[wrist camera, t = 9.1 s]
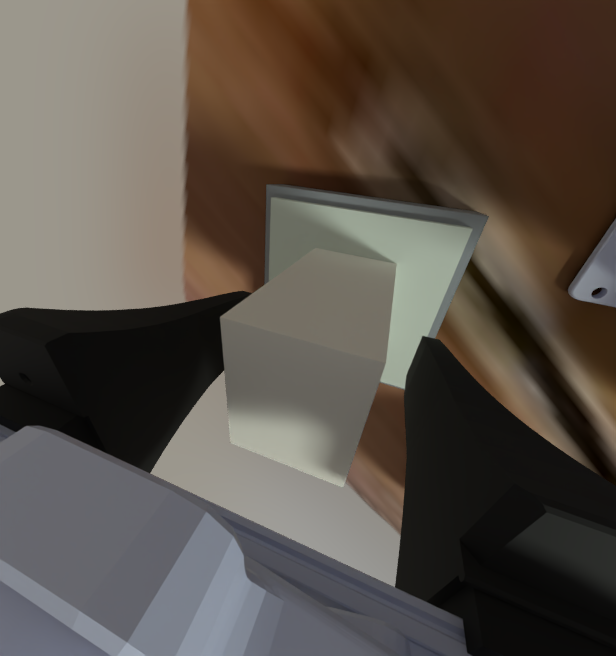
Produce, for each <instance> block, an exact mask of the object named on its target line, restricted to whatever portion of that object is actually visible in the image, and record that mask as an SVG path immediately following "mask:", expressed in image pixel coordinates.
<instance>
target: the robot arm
mask: <svg viewBox="0 0 616 656" xmlns="http://www.w3.org/2000/svg"><path fill="white" fill-rule="evenodd" d="M597 288H602V290H601V292H599V293H598V294H596V295H591V294H592V292H593V291H594V290H595V289H597ZM568 293H569V295H570V296H571V297H573V298H574V299H577V300H581V301H586V302H591V303H596V304H601V305H606V306H611V307H616V219H615V220H614V222H613V223H612V225H611V226H610V227H609V229H608V230H607V232H606V233H605V235H604V236H603V238H602V239H601V241H600V242H599V244H598V245H597V246H596V248H595V249H594V251H593V252H592V254H591V255H590V257H589V258H588V260H587V261H586V262H585V264H584V265H583V267H582V268H581V270H580V271H579V273H578V274H577V276H576V277H575V279H574V280H573V281H572V283H571V284H570V286H569V288H568ZM251 294H252V293H249V292H245V291H238V292H232V293H227V294H222V295H218V296H213V297H209V298H204V299H200V300H195V301H190V302H185V303H179V304H174V305H168V306H161V307H153V308H143V309H127V310H109V311H108V310H106V311H105V310H104V311H83V310H79V311H77V310H55V309H38V308H37V309H36V308H18V309H13V310H10V311H7V312H4V313H1V314H0V378H1V379H2V381H3V382H4V383H5V384H4V385H2V386H0V656H616V486H615V485H613V484H612V483H610V482H608V481H607V480H605V479H604V478H602V477H601V476H599V475H598V474H596V473H594V472H593V471H591V470H590V469H588V468H587V467H585V466H584V465H582V464H581V463H579V462H577V461H576V460H574V459H573V458H571V457H570V456H569V455H567V454H566V453H564V452H563V451H561V450H560V449H558V448H557V447H555V446H554V445H553V444H551V443H550V442H549V441H547V440H546V439H544V438H543V437H542V436H540V435H539V434H538V433H536V432H535V431H534V430H532V429H531V428H530V427H528V426H527V425H526V424H525V423H523V422H522V421H521V420H519V419H518V418H517V417H516V416H515V415H513V414H512V413H511V412H510V411H509V410H507V409H506V408H505V407H504V406H503V405H502V404H500V403H499V402H498V401H497V400H496V399H495V398H494V397H493V396H492V395H490V394H489V393H488V392H487V391H486V390H485V389H484V388H483V387H482V386H481V385H480V384H479V383H478V382H477V381H476V380H475V379H474V378H473V377H472V375H471V374H470V373H469V372H468V371H467V370H466V369H465V368H464V367H463V366H462V365H461V363H460V362H459V361H458V360H457V359H456V358H455V357H454V355H453V354H452V353H451V352H450V351H449V350H448V349H447V347H446V346H445V345H444V344H443V343H442V342H441V341H440V340H438V339H434V338H430V337H426V336H422V338H421V341H420V343H419V345H418V348H417V350H416V353H415V355H414V358H413V360H412V363H411V365H410V367H409V370H408V372H407V375H406V382H405V392H404V407H405V427H406V446H407V462H406V478H405V493H404V506H403V518H402V528H401V539H400V550H399V558H398V567H397V576H396V584H395V587H393V586H391V585H389V584H386V583H384V582H382V581H380V580H378V579H376V578H373V577H371V576H369V575H367V574H365V573H362V572H360V571H358V570H356V569H354V568H352V567H350V566H348V565H345V564H343V563H341V562H339V561H337V560H335V559H332V558H330V557H328V556H326V555H324V554H322V553H319V552H317V551H315V550H313V549H311V548H309V547H307V546H305V545H302V544H300V543H298V542H296V541H294V540H292V539H289V538H287V537H285V536H283V535H281V534H279V533H277V532H274V531H272V530H270V529H268V528H266V527H264V526H261V525H259V524H257V523H255V522H253V521H251V520H249V519H246V518H244V517H242V516H240V515H238V514H236V513H233V512H231V511H229V510H227V509H225V508H223V507H221V506H218V505H216V504H214V503H212V502H210V501H208V500H205V499H203V498H201V497H199V496H197V495H195V494H193V493H190V492H188V491H186V490H184V489H182V488H180V487H178V486H176V485H174V484H171V483H169V482H167V481H165V480H163V479H161V478H158V477H156V476H154V475H152V474H150V472H151V471H152V469H153V467H154V466H155V464H156V462H157V461H158V459H159V458H160V456H161V454H162V452H163V451H164V449H165V448H166V446H167V445H168V443H169V442H170V440H171V438H172V437H173V436H174V434H175V433H176V431H177V429H178V428H179V426H180V425H181V424H182V422H183V420H184V419H185V418H186V416H187V415H188V414H189V412H190V411H191V409H192V408H193V407H194V405H195V404H196V403H197V401H198V400H199V399H200V397H201V396H202V395H203V393H204V392H205V391H206V389H207V388H208V387H209V386H210V385H211V384H212V382H213V381H214V380H215V379H216V378H217V377H218V376H219V375H220V374H221V373H222V372H223V371H224V360H223V348H222V336H221V324H220V317H221V316H222V315H223V314H225V313H226V312H228V311H229V310H230V309H232V308H233V307H235V306H236V305H237V304H239V303H240V302H241V301H243V300H244V299H246V298H247V297H248V296H250V295H251Z"/></svg>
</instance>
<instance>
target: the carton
mask: <svg viewBox="0 0 616 656" xmlns="http://www.w3.org/2000/svg"><path fill="white" fill-rule="evenodd" d="M396 266H397V264H396V263H391V262H385V261H380V260H375V259H370V258H365V257H360V256H355V255H350V254H344V253H339V252H334V251H329V250H324V249H319V248H315V249H313V250H312V251H311V252H309V253H308V254H306V255H305V256H304V257H302V258H301V259H299V260H298V261H297V262H295V263H294V264H293V265H291V266H290V267H288V268H287V269H286V270H284V271H283V272H282V273H280V274H279V275H277V276H276V277H275V278H273V279H272V280H270V281H269V282H268V283H266V284H265V285H264V286H262V287H261V288H259V289H258V290H257V291H255V292H254V293H252V294H251V295H250V296H248V297H247V298H246V299H244V300H243V301H241V302H240V303H239V304H237V305H236V306H235V307H233V308H232V309H230V310H229V311H228V312H226V313H225V314H223V315H222V316H221V317H220V324H221V336H222V348H223V360H224V371H225V384H226V394H227V408H228V419H229V431H230V443H232V444H234V445H237V446H240V447H242V448H245V449H247V450H250V451H252V452H254V453H257V454H260V455H262V456H265V457H267V458H270V459H272V460H275V461H277V462H280V463H282V464H285V465H287V466H290V467H292V468H295V469H297V470H300V471H302V472H305V473H307V474H310V475H312V476H315V477H317V478H320V479H322V480H325V481H327V482H330V483H332V484H335V485H337V486H340V487H342V488H343V487H344V484H345V481H346V478H347V475H348V472H349V470H350V467H351V464H352V461H353V458H354V455H355V452H356V449H357V446H358V443H359V440H360V438H361V435H362V432H363V429H364V426H365V423H366V420H367V417H368V414H369V411H370V408H371V406H372V403H373V400H374V397H375V394H376V391H377V388H378V385H379V382H380V379H381V376H382V373H383V371H384V368H385V365H386V358H387V349H388V340H389V331H390V322H391V312H392V303H393V294H394V285H395V276H396Z"/></svg>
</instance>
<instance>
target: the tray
mask: <svg viewBox="0 0 616 656" xmlns="http://www.w3.org/2000/svg"><path fill="white" fill-rule="evenodd" d="M488 217H489V216H487V215H484V214H482V213H479V212H475V211H468V210H461V209H454V208H447V207H440V206H433V205H426V204H419V203H412V202H405V201H398V200H391V199H384V198H377V197H370V196H362V195H355V194H348V193H341V192H334V191H327V190H320V189H313V188H306V187H299V186H292V185H285V184H266V235H265V284H266V283H268V282H269V281H270V280H272V279H273V278H275V277H276V276H277V275H279V274H280V273H282V272H283V271H284V270H286V269H287V268H288V267H290V266H291V265H293V264H294V263H295V262H297V261H298V260H299V259H301V258H302V257H304V256H305V255H306V254H308V253H309V252H311V251H312V250H313V249H315V248H319V249H324V250H329V251H334V252H339V253H344V254H350V255H355V256H360V257H365V258H370V259H375V260H380V261H385V262H391V263H396V264H397V266H396V276H395V285H394V294H393V303H392V312H391V322H390V331H389V340H388V349H387V358H386V365H385V368H384V371H383V373H382V376H381V379H380V383H383V384H387V385H390V386H393V387H397V388H400V389H403V390H405V382H406V375H407V372H408V370H409V367H410V365H411V363H412V360H413V358H414V355H415V353H416V350H417V348H418V345H419V343H420V341H421V338H422V336H426V337H430V338H434V339H435V337H436V335H437V332H438V330H439V328H440V326H441V323H442V321H443V319H444V316H445V314H446V312H447V310H448V307H449V305H450V303H451V301H452V298H453V296H454V294H455V292H456V289H457V287H458V285H459V283H460V280H461V278H462V276H463V274H464V271H465V269H466V267H467V264H468V262H469V260H470V258H471V255H472V253H473V251H474V249H475V246H476V244H477V242H478V240H479V237H480V235H481V233H482V231H483V228H484V226H485V224H486V222H487V219H488Z"/></svg>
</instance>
